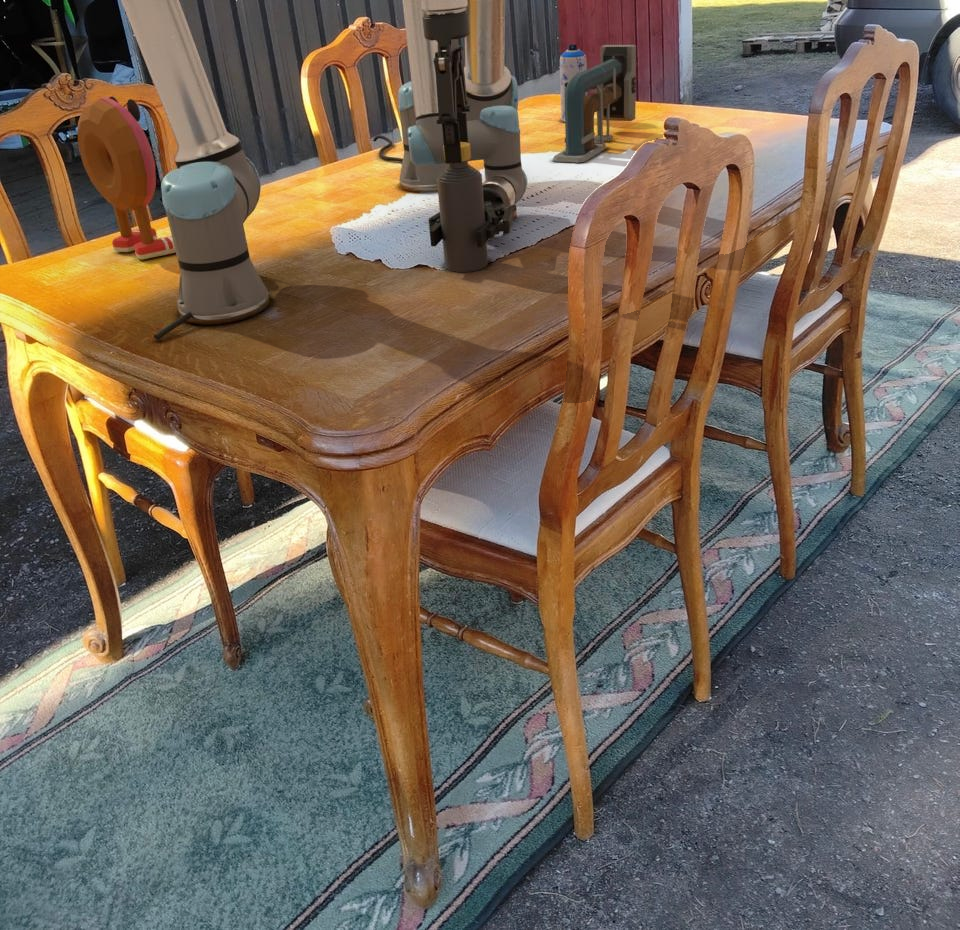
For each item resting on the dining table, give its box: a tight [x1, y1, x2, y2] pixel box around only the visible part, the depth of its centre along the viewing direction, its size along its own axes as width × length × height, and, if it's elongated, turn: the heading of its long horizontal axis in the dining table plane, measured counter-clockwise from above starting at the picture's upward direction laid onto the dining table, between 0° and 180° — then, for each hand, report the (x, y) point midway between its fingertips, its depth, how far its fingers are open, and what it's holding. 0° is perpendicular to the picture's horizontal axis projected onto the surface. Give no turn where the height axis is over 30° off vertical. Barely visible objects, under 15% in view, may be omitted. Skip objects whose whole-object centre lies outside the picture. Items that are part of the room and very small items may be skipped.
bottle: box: [437, 160, 489, 273], centre depth 171 cm, size 8×8×21 cm
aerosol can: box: [559, 43, 588, 123], centre depth 273 cm, size 8×8×20 cm
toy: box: [77, 96, 176, 260], centre depth 191 cm, size 21×10×30 cm, turn 47°
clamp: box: [552, 44, 637, 164], centre depth 243 cm, size 35×9×21 cm, turn 151°
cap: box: [443, 142, 471, 161], centre depth 166 cm, size 5×5×2 cm
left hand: (457, 157), depth 167 cm, fingers open, 7 cm apart
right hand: (455, 239), depth 170 cm, fingers closed on bottle, 8 cm apart
